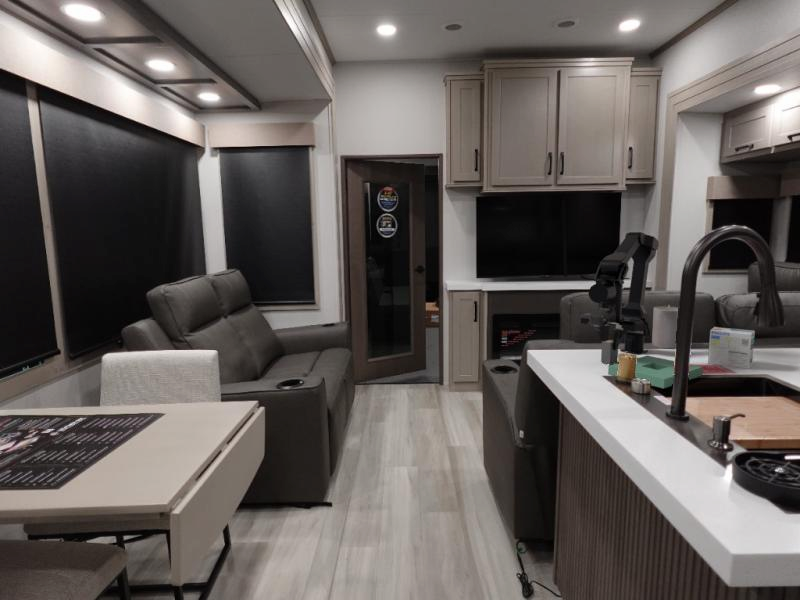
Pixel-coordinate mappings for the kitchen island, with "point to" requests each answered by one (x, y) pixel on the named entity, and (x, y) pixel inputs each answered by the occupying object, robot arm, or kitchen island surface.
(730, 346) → the light bulb box
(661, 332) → the pillar candle
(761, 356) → the kitchen island surface
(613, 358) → the plug block
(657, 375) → the socket board
